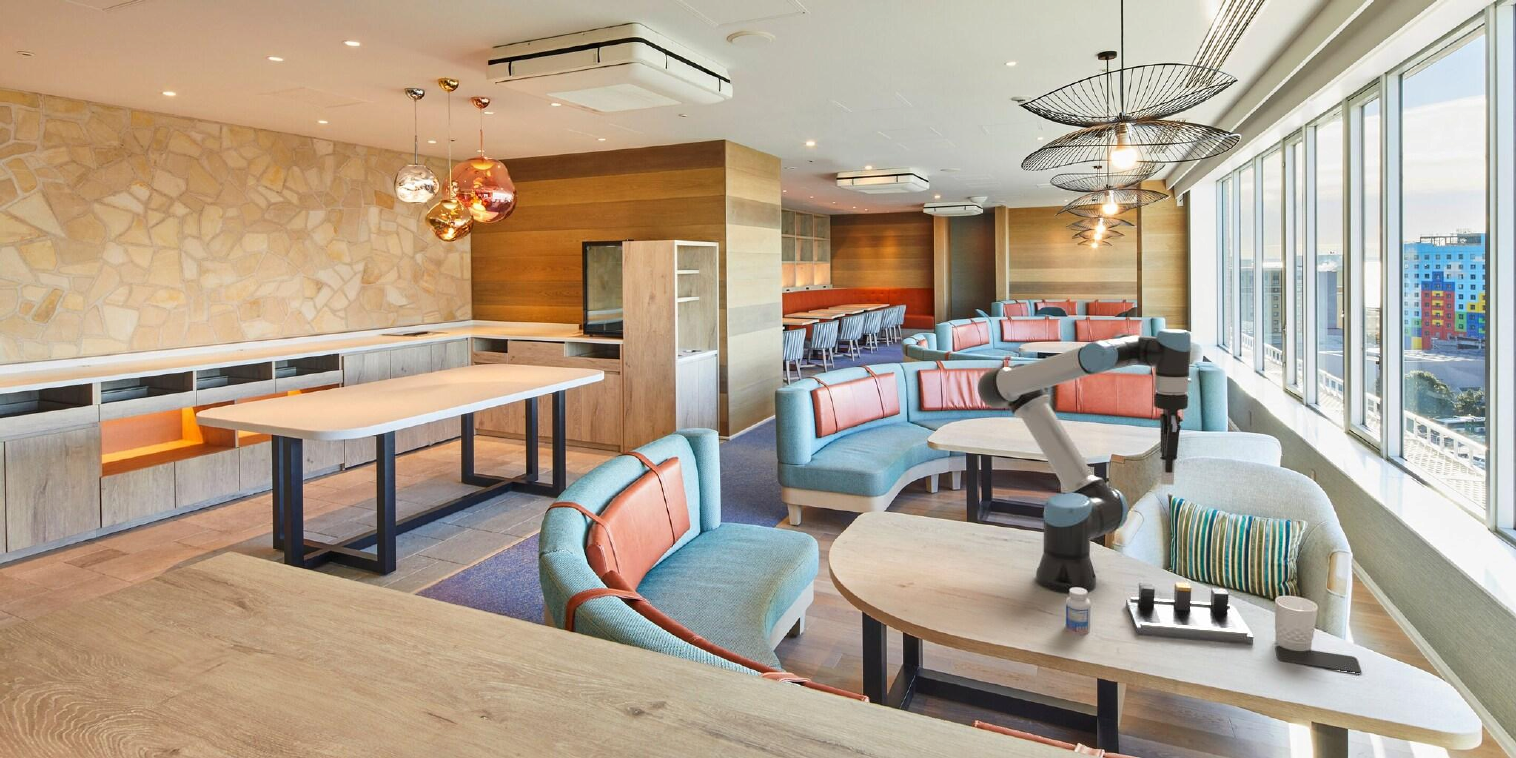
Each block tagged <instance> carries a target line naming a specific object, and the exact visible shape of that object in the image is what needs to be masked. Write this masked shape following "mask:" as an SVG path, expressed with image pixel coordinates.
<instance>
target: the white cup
mask: <svg viewBox="0 0 1516 758" xmlns="http://www.w3.org/2000/svg"><path fill="white" fill-rule="evenodd" d="M1274 603H1275V605H1274V629H1275V630H1274V631H1275V639H1274V641H1275V643H1276V644H1277V645H1276V646H1281V647H1283V648H1286V649H1290V650H1295V651H1307V650H1312V645H1313V639H1314V637H1315V635H1314V634H1315V629H1316V623H1317V615H1318V609H1319V608H1318V607H1319V606H1318V605H1317V604H1316V602H1314V601H1311V600H1310V599H1307V598H1303V597H1300V596H1293V595H1281V596H1276V597H1275V599H1274Z"/></svg>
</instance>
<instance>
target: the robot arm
mask: <svg viewBox="0 0 1516 758" xmlns="http://www.w3.org/2000/svg"><path fill="white" fill-rule="evenodd" d="M1191 344H1192V343H1191V333H1190V332H1189V331H1188V330H1185V329H1177V328H1176V329H1171V328H1170V329H1169V328H1167V329H1160V330H1158V331H1157V332H1156V336H1149V335H1148V336H1147V335H1138V334H1137V335H1136V334H1132V333H1124V334H1123V333H1121V334H1120V333H1119V334H1115V335H1114V336H1113V338H1110V339H1104V340H1101V339H1099V340H1095V341H1092V342H1089V343H1087V344H1085V345H1084V346H1080V347H1077V348H1073V349H1071V350H1068V351H1065V352H1062V353H1059V354H1055V355H1051V356H1048V357H1045V358H1042V359H1040V360H1037V361H1034V362H1029V363H1019V364H1015V365H1011V366H1005V367H1004V366H1003V367H999V368H993V369H991V370H989V371H986V372H984V374H982V376H981V377H980V379H979V380H978V384H977V394H978V397H979V398H980V400H981V401H982V402H983V403H984V404H985V405H986V406H987V407H990V408H993V409H1005V408H1008V409H1009V410H1010V412H1011V413H1012V415H1013V416H1014V417H1015V418H1019V419H1022V421H1023V423H1024V424H1025V426H1026V428H1027V429H1028V430H1029V431H1028V432H1030V434H1031V436H1032V437H1033V439H1034V441H1035V442H1036V443H1037V445H1038V447H1039V449H1040V451H1041V452H1042V454H1043V456H1044V457H1045V458H1046V460H1047V462H1048V463H1049V465H1050V466H1051V469H1052V470H1053V472H1054V473H1055V475H1056V477H1057V478H1058V480H1059V481H1060V483H1061V484H1062V487H1063V488H1064V489H1065V493H1057V494H1054V495H1051V496H1050V497H1049V498H1047V500H1046V501H1045V503H1044V509H1043V516H1042V517H1043V547H1042V549H1043V551H1042V556H1041V558H1040V562H1039V565H1038V567H1037V568H1036V572H1035V580H1037V581H1036V583H1037V584H1038V583H1039V584H1038V585H1040V586H1041V587H1042V588H1045V589H1048V590H1050V591H1052V592H1057V593H1064V594H1069V590H1070V589H1071V588H1074V587H1079V588H1083V589H1085V590H1087V592H1091V591H1093V590H1095V589H1096V586H1097V576H1096V574H1095V569H1094V567H1093V563H1092V560H1091V557H1090V553H1091V552H1090V551H1091V540H1093V539H1096V538H1099V537H1101V536H1104V535H1107V534H1112V533H1113V532H1115V531H1117V530H1119V529H1121V528H1122V527H1123V526H1124V525H1125V524H1126V522H1127V519H1128V514H1129V506H1128V505H1129V504H1128V502H1127V500H1126V497H1125V496H1124V494H1122V492H1121V491H1120V490H1118V489H1115V488H1114V487H1109V486H1108V485H1107V483H1106V481H1105V480H1104V479H1103V477H1098V476H1096V475H1094V474H1093V472H1092V471H1091V469H1090V467H1089V465H1088V464H1087V462H1086V460H1085V459H1084V458H1083V456H1082V454H1081V453H1080V451H1079V450H1078V448H1077V446H1076V445H1075V443H1074V442H1073V440H1072V438H1071V437H1070V435H1069V434H1068V433H1067V430H1066V429H1065V428H1064V426H1063V424H1062V423H1061V421H1060V420H1059V418H1058V417H1057V415H1056V414H1055V412H1054V410H1053V409H1052V407H1051V405H1050V400H1051V395H1050V394H1049V389H1050V387H1054V386H1056V385H1057V386H1058V385H1060V384H1064V383H1068V382H1072V381H1075V380H1078V379H1081V378H1085V377H1089V376H1091V375H1096V374H1099V373H1103V372H1107V371H1112V370H1115V369H1120V368H1125V367H1126V368H1127V367H1131V366H1144V367H1145V366H1146V367H1155V374H1154V391H1155V393H1154V394H1153V396H1154V397H1153V399H1154V401H1153V406H1154V407H1155V408H1157V409H1160V410H1162V413H1160V415H1159V418H1160V422H1159V423H1160V451H1159V452H1160V454H1161V455H1160V457H1159V459H1160V460H1161V466H1160V468H1161V469H1160V484H1161V485H1171V486H1174V484H1175V483H1174V482H1175V465H1176V464H1175V462H1176V460H1177V459H1178V450H1179V449H1178V448H1179V438H1180V432H1181V429H1182V426H1181V424H1180V423H1181V416H1180V415H1179V413H1178V412H1179V411H1180V410H1181V411H1183V410H1186V409H1187V408H1188V404H1189V394H1188V393H1187V392H1188V391H1189V384H1190V383H1192V378H1190V377H1189V376H1190V363H1191V351H1192V346H1191Z"/></svg>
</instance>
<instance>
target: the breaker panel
mask: <svg viewBox="0 0 1516 758" xmlns="http://www.w3.org/2000/svg"><path fill="white" fill-rule="evenodd" d="M1155 593H1156V590H1155V586H1154V585H1153V584H1152V583H1139V582H1138V597H1135V596H1131V597H1130V598H1128V597H1125V608H1126V609H1127V613H1128V615H1129V619H1130V620H1131V623H1132V627H1133V628H1134V631H1135V634H1136V636H1141V637H1152V638H1154V637H1155V638H1163V639H1164V638H1165V639H1175V640H1176V639H1179V640H1191V641H1199V642H1200V641H1202V642H1214V643H1224V644H1225V643H1226V644H1227V643H1228V644H1237V645H1238V644H1239V645H1250V646H1254V635H1253V633H1252V632H1251V631H1250V629H1249V628H1248V626H1247V624H1246V623H1245V621H1244V620H1243V619H1242V617H1241V615H1240V614H1239V612H1238V611H1237V609H1236V608H1235V606H1233V605H1231V604H1230V603H1229V593H1228V591H1227V590H1226V589H1225V588H1214V587H1211V588H1210V602H1206V601H1205V602H1203V601H1192V600H1191V606H1190V611H1185V610H1176V608H1175V606H1174V599H1164V598H1162V599H1161V598H1155Z"/></svg>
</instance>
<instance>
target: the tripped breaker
mask: <svg viewBox="0 0 1516 758" xmlns="http://www.w3.org/2000/svg"><path fill="white" fill-rule="evenodd" d="M1173 593H1174V594H1173V596H1174V598H1173V600H1174V606H1175V608H1176V610H1185V611H1190V606H1191V601H1192V600H1191V599H1192V587H1191V585H1190V583H1189V582H1178V581H1175V582H1174V592H1173Z"/></svg>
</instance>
